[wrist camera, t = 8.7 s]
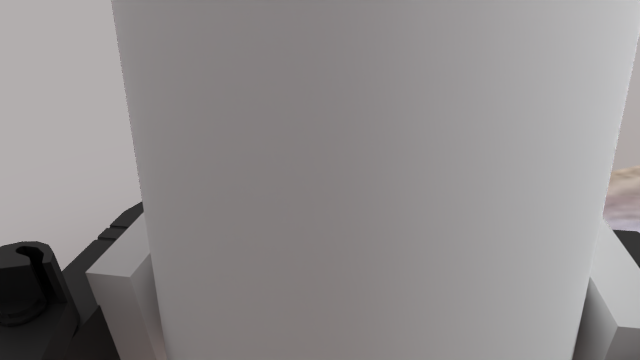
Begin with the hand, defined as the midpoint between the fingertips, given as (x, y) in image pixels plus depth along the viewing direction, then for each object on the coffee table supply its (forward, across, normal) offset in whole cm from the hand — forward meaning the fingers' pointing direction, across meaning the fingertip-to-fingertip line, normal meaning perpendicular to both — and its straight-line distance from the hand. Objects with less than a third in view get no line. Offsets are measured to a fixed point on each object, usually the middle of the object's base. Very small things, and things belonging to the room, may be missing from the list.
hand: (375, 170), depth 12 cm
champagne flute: (-5, 0, -13) cm, 14 cm away
